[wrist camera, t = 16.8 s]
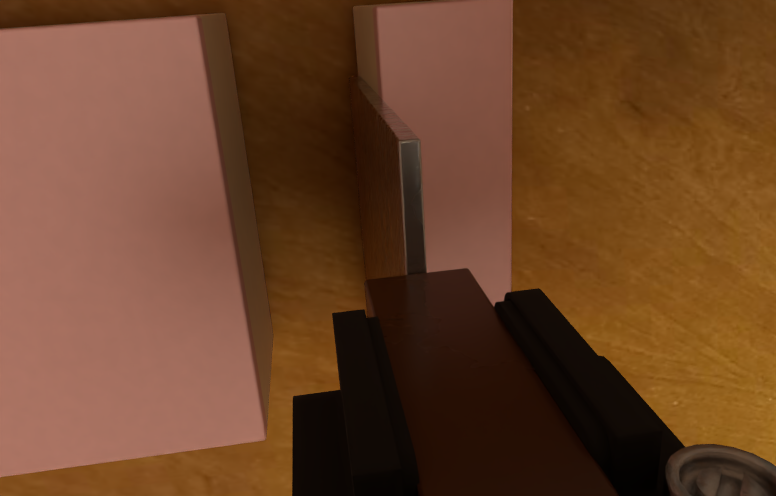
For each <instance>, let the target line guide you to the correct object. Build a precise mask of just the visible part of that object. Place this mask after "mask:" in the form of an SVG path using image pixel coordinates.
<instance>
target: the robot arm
mask: <svg viewBox="0 0 776 496" xmlns="http://www.w3.org/2000/svg"><path fill="white" fill-rule="evenodd" d="M494 308H495V310H496V311H497V313H498V315H499V316H500V318H501V319H502V321H503V322H504V324H505V325H506V327H507V328H508V330H509V331H510V333H511V334H512V336H513V337H514V339H515V340H516V342H517V343H518V345H519V346H520V348H521V349H522V351H523V352H524V354H525V355H526V357H527V358H528V360H529V362H530V363H531V365H532V366H533V368H534V369H535V371H536V372H537V374H538V375H539V377H540V378H541V380H542V381H543V383H544V384H545V386H546V387H547V389H548V390H549V392H550V393H551V395H552V396H553V398H554V399H555V401H556V402H557V404H558V405H559V407H560V408H561V410H562V412H563V413H564V415H565V416H566V418H567V419H568V421H569V422H570V424H571V425H572V427H573V428H574V430H575V431H576V433H577V434H578V436H579V437H580V439H581V440H582V442H583V443H584V445H585V446H586V448H587V449H588V451H589V452H590V454H591V455H592V457H594V458H595V460H596V461H597V463H598V464H599V466H600V467H601V469H602V470H603V472H604V473H605V475H606V476H607V478H608V479H609V481H610V482H611V484H612V485H613V487H614V488H615V490H616V491H617V493H618V494H619V496H776V466H774V465H773V464H772V463H770V462H768V461H766V460H764V459H762V458H760V457H759V456H757V455H755V454H753V453H750V452H747V451H744V450H740V449H737V448H734V447H729V446H723V445H716V444H700V445H693V446H689V447H685V446H684V445H683V444H682V443H681V442H680V441H679V439H678V438H677V437H676V436H675V435H674V434H673V433H672V431H671V430H670V429H669V428H668V427H667V426H666V425H665V424H664V422H663V421H662V420H661V419H660V418H659V417H658V416H657V415H656V413H655V412H654V411H653V410H652V409H651V408H650V407H649V405H648V404H647V403H646V402H645V401H644V400H643V399H642V398H641V396H640V395H639V394H638V393H637V392H636V391H635V390H634V389H633V387H632V386H631V385H630V384H629V383H628V382H627V381H626V379H625V378H624V377H623V376H622V375H621V374H620V373H619V372H618V370H617V369H616V368H615V367H614V366H613V365H612V364H611V362H610V361H608V360H607V359H606V358H605V357H603V356H598V355H597V354H596V353H595V352H594V350H593V349H592V348H591V347H590V346H589V345H588V344H587V342H586V341H585V340H584V339H583V338H582V337H581V335H580V334H579V333H578V332H577V331H576V330H575V329H574V327H573V326H572V325H571V324H570V323H569V322H568V320H567V319H566V318H565V317H564V316H563V315H562V314H561V312H560V311H559V310H558V309H557V308H556V307H555V305H554V304H553V303H552V302H551V301H550V300H549V299H548V297H547V296H546V295H545V294H544V293H543V292H542V290H540V289H531V290H522V291H514V292H507V293H506V294H505V297H504V301H500V302H496V303H495V306H494ZM332 316H333V325H334V335H335V344H336V353H337V363H338V372H339V381H340V390H336V391H329V392H321V393H314V394H306V395H299V396H294V397H293V482H292V496H417V494H416V487H417V485H418V484H419V483H420V481H419V473H418V467H417V461H416V456H415V451H414V447H413V444H412V440H411V436H410V433H409V429H408V425H407V421H406V418H405V414H404V410H403V407H402V403H401V399H400V396H399V392H398V388H397V384H396V381H395V377H394V373H393V370H392V366H391V362H390V358H389V355H388V351H387V347H386V344H385V340H384V336H383V333H382V329H381V325H380V321H379V318H378V316H376V317H368V318H366V314H365V310H355V311H347V312H338V313H332Z"/></svg>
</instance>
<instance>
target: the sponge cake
mask: <svg viewBox="0 0 776 496" xmlns="http://www.w3.org/2000/svg"><path fill="white" fill-rule="evenodd" d="M272 347H273V330H272V323H271V316H270V309H269V303H268V296H267V289H266V282H265V276H264V269H263V262H262V256H261V249H260V242H259V235H258V229H257V222H256V215H255V208H254V202H253V195H252V188H251V181H250V175H249V168H248V161H247V155H246V148H245V141H244V134H243V128H242V121H241V114H240V107H239V101H238V94H237V87H236V80H235V74H234V67H233V60H232V54H231V47H230V40H229V33H228V27H227V20H226V14H225V13H213V14H199V15H185V16H171V17H157V18H143V19H129V20H114V21H100V22H86V23H72V24H58V25H44V26H30V27H15V28H1V29H0V477H4V476H12V475H19V474H26V473H33V472H40V471H48V470H55V469H62V468H69V467H76V466H84V465H91V464H98V463H105V462H112V461H120V460H127V459H134V458H141V457H148V456H155V455H163V454H170V453H177V452H184V451H191V450H199V449H206V448H213V447H220V446H227V445H235V444H242V443H249V442H256V441H263V440H265V439H266V434H267V421H268V406H269V392H270V377H271V362H272Z"/></svg>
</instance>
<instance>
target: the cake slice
mask: <svg viewBox="0 0 776 496" xmlns="http://www.w3.org/2000/svg"><path fill="white" fill-rule="evenodd" d="M353 18H354V31H355V43H356V56H357V68H358V76H361V77H362V78H363V80H364V81H365V82H366V83H367V84H368V85H369V86H370V87H371V88H372V89H373V90H374V91H375V92H376V93H377V94H378V95H379V97H380V98H381V99H382V100H383V101H384V102H385V103H386V104H387V105H388V106H389V107H390V108H391V109H392V110H393V111H394V112H395V113H396V115H397V116H398V117H399V118H400V119H401V120H402V121H403V122H404V123H405V124H406V125H407V126H408V127H409V128H410V129H411V130H412V132H413V133H414V134H415V135H416V136H417V137H418V138H419V139H420V141H421V159H422V180H423V201H424V223H425V244H426V265H427V273H428V272H437V271H445V270H454V269H463V268H468V269H469V270H470V271H471V273H472V274H473V276H474V278H475V279H476V281H477V282H478V284H479V285H480V287H481V288H482V290H483V291H484V293H485V294H486V296H487V297H488V299H489V300H490V302H491V303H492V305H493V306H495V303H496V302H500V301H504V297H505V294H506V293H507V292H511V244H512V60H513V0H434V1H420V2H406V3H392V4H378V5H364V6H355V7H353Z"/></svg>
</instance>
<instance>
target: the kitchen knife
mask: <svg viewBox="0 0 776 496" xmlns="http://www.w3.org/2000/svg"><path fill="white" fill-rule="evenodd" d="M349 88H350V100H351V112H352V123H353V135H354V147H355V159H356V170H357V182H358V194H359V206H360V217H361V229H362V241H363V253H364V264H365V276H366V280H365V283H364V285H365V297H366V308H367V318H368V317H376V316H378V318H379V321H380V325H381V329H382V333H383V336H384V340H385V344H386V347H387V351H388V355H389V358H390V362H391V366H392V370H393V373H394V377H395V381H396V384H397V388H398V392H399V396H400V399H401V403H402V407H403V410H404V414H405V418H406V421H407V425H408V429H409V433H410V436H411V440H412V444H413V447H414V451H415V456H416V461H417V467H418V473H419V481H420V483H419V484H418V485H417V487H416V494H417V496H619V494H618V493H617V491H616V490H615V488H614V487H613V485H612V484H611V482H610V481H609V479H608V478H607V476H606V475H605V473H604V472H603V470H602V469H601V467H600V466H599V464H598V463H597V461H596V460H595V458H594V457H592V455H591V454H590V452H589V451H588V449H587V448H586V446H585V445H584V443H583V442H582V440H581V439H580V437H579V436H578V434H577V433H576V431H575V430H574V428H573V427H572V425H571V424H570V422H569V421H568V419H567V418H566V416H565V415H564V413H563V412H562V410H561V408H560V407H559V405H558V404H557V402H556V401H555V399H554V398H553V396H552V395H551V393H550V392H549V390H548V389H547V387H546V386H545V384H544V383H543V381H542V380H541V378H540V377H539V375H538V374H537V372H536V371H535V369H534V368H533V366H532V365H531V363H530V362H529V360H528V358H527V357H526V355H525V354H524V352H523V351H522V349H521V348H520V346H519V345H518V343H517V342H516V340H515V339H514V337H513V336H512V334H511V333H510V331H509V330H508V328H507V327H506V325H505V324H504V322H503V321H502V319H501V318H500V316H499V315H498V313H497V311H496V310H495V308H494V306H493V305H492V303H491V302H490V300H489V299H488V297H487V296H486V294H485V293H484V291H483V290H482V288H481V287H480V285H479V284H478V282H477V281H476V279H475V278H474V276H473V274H472V273H471V271H470V270H469V269H468V268H463V269H454V270H445V271H437V272H428V273H427V265H426V244H425V223H424V201H423V180H422V159H421V141H420V139H419V138H418V137H417V136H416V135H415V134H414V133H413V132H412V130H411V129H410V128H409V127H408V126H407V125H406V124H405V123H404V122H403V121H402V120H401V119H400V118H399V117H398V116H397V115H396V113H395V112H394V111H393V110H392V109H391V108H390V107H389V106H388V105H387V104H386V103H385V102H384V101H383V100H382V99H381V98H380V97H379V95H378V94H377V93H376V92H375V91H374V90H373V89H372V88H371V87H370V86H369V85H368V84H367V83H366V82H365V81H364V80H363V78H362V77H361V76H350V77H349Z"/></svg>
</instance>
